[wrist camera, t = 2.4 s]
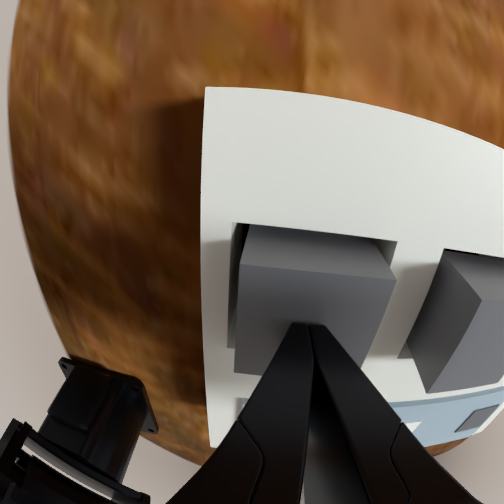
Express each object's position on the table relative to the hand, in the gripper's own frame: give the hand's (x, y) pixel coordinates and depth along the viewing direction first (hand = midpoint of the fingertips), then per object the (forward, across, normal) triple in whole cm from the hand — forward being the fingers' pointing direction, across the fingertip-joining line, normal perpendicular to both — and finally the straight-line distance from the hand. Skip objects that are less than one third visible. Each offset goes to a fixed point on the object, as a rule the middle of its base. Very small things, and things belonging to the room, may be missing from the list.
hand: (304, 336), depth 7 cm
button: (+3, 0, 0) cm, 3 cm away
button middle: (+2, -6, 0) cm, 6 cm away
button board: (+4, -6, +2) cm, 8 cm away
